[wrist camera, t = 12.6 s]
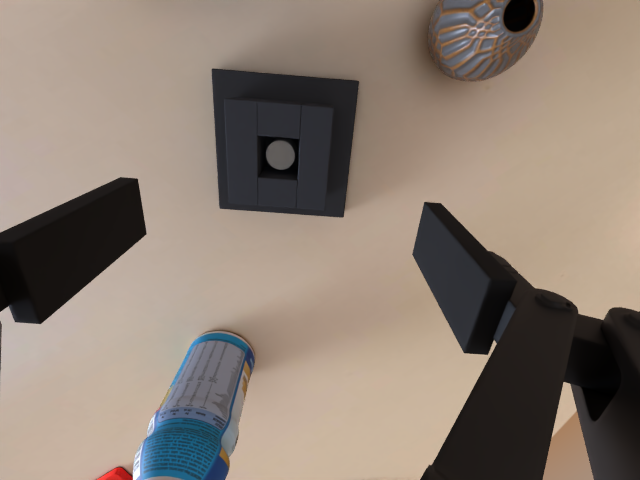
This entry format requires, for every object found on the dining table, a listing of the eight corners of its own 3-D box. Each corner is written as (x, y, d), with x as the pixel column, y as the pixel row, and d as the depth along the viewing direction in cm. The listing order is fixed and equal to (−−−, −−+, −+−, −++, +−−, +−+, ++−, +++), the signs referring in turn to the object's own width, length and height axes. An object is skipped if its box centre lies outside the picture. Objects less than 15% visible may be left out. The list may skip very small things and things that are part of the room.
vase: (433, 97, 29) (477, 101, 21) (406, 12, 26) (443, -20, 18) (513, 56, 27) (592, 44, 19) (492, -37, 25) (573, -96, 17)
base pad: (216, 69, 28) (200, 66, 24) (357, 81, 28) (362, 80, 25) (223, 203, 33) (211, 218, 29) (342, 212, 33) (345, 227, 30)
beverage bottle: (232, 317, 39) (155, 519, 21) (269, 365, 42) (229, 576, 24) (175, 342, 41) (57, 549, 22) (214, 386, 44) (138, 598, 26)
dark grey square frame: (236, 96, 27) (223, 98, 24) (332, 104, 28) (333, 107, 24) (239, 189, 31) (228, 203, 27) (324, 196, 31) (325, 210, 27)
